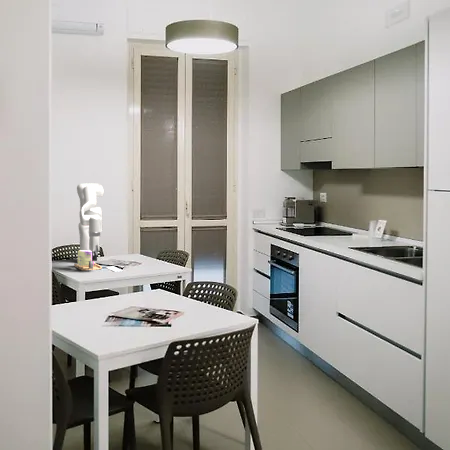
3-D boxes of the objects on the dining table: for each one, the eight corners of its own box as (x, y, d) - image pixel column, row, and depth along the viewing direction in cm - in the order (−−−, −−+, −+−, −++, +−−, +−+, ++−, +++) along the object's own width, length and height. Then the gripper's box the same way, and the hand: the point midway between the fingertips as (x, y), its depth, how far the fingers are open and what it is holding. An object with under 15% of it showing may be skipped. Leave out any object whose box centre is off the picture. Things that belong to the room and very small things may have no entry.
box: (94, 266, 423) (94, 250, 422) (91, 268, 418) (91, 251, 416) (80, 266, 425) (80, 249, 424) (77, 267, 419) (77, 250, 418)
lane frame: (74, 266, 424) (74, 258, 423) (93, 265, 430) (93, 256, 430) (81, 270, 406) (81, 261, 406) (101, 269, 413) (101, 260, 412)
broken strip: (105, 267, 421) (105, 266, 421) (114, 267, 424) (114, 266, 424) (114, 271, 403) (114, 271, 403) (122, 271, 406) (122, 270, 406)
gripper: (86, 233, 406) (86, 259, 408) (92, 236, 392) (92, 263, 395) (96, 232, 409) (96, 258, 411) (103, 235, 396) (103, 262, 398)
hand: (94, 260), depth 403 cm, fingers closed
